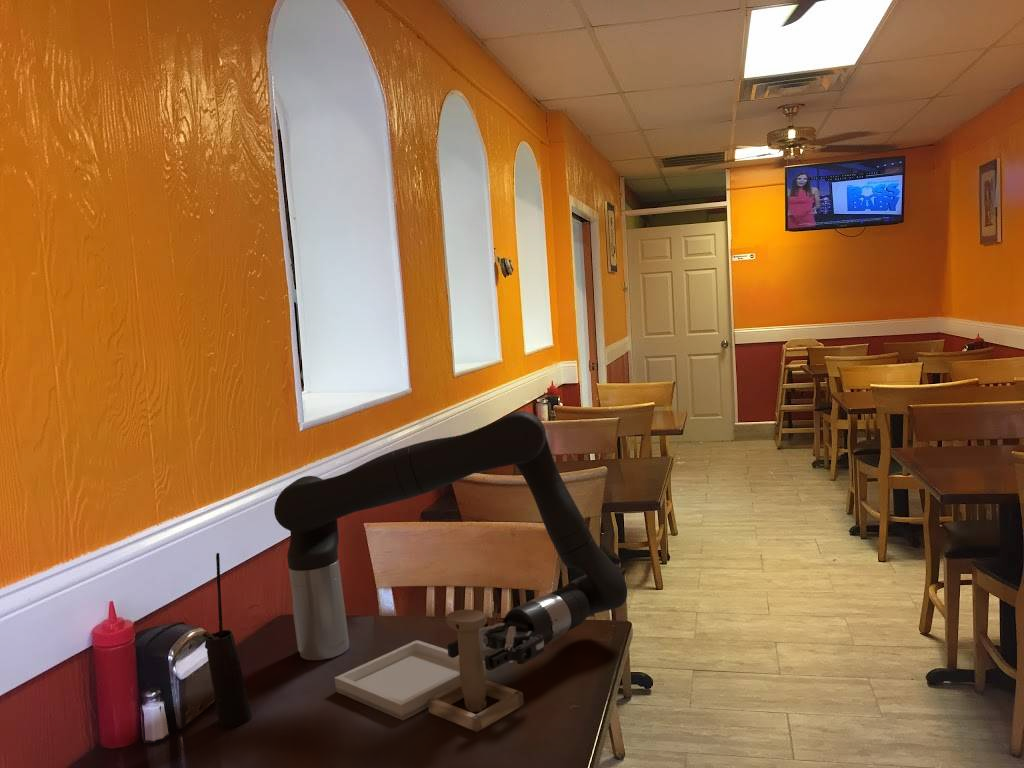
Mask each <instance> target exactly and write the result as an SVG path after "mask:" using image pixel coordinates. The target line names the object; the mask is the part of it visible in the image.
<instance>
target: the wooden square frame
mask: <svg viewBox="0 0 1024 768" xmlns="http://www.w3.org/2000/svg"><path fill="white" fill-rule="evenodd" d="M486 697H490V698H491V699H492V698H493V699H495V700H499V701H497V702H496V703H494V704H492V705H490V706H489V707H486V708H485V709H483V710H482V711H481V712H478V713H476V714H475V713H474V712H469V710H467V709H463V708H460V707H457V706H456V705H453V704H454V703H456V702H458V701H460V700H462V699H464V696H463V692H462V686H461V683H459V684H458V685H456V686H454V687H452V688H450V689H448V690H446V691H444V692H442V693H440V694H439V695H437V696H435V697H433V698H431V699H429V700H428V707H427V708H428V713H430V714H431V715H434V716H437V717H439V718H442V719H444V720H447V721H449V722H452V723H454V724H457V725H459V726H461V727H464V728H466V729H469V730H472V731H474V732H476V733H478V732H480V731H482V730H483V729H485V728H487V727H488V726H490V725H492V724H493V723H496V722H497V721H499V720H501V719H502V718H503V717H506V716H507V715H509V714H510V713H512V712H514V711H515V710H517V709H519V708H521V707H522V706H524V705H525V704H524V703H525V702H524V694H523V691H520V690H517V689H514V688H512V687H507V686H505V685H502V684H499V683H497V682H493V681H491V680H488V679H486Z"/></svg>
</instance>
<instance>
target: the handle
mask: <svg viewBox="0 0 1024 768" xmlns="http://www.w3.org/2000/svg"><path fill="white" fill-rule="evenodd" d="M487 618H488V617H487V613H485V612H484V611H481V610H477V609H476V610H475V609H457V610H453V611H451V612H449V613H448V614H447V615H446V616H445V621H446V625H447V626H448V627H449V628H451V629H452V630H454V631H456V635H457V640H458V650H459V670H460V681H461V686H462V692H463V696H464V698H463V700H464V706H465V710H467V711H468V712H471V713H474V712H475V713H476V712H478V713H480V712H482V711H483V710H485V709H487V699H486V697H487V695H486V680H487V675H486V676H485V668H484V662H485V661H484V656H483V651H481V644H480V638H479V629H480V628H482V627H483V626H484V625H485V624H486V623H487V620H488V619H487ZM483 661H484V662H483Z"/></svg>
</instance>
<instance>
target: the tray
mask: <svg viewBox="0 0 1024 768" xmlns="http://www.w3.org/2000/svg"><path fill="white" fill-rule="evenodd" d="M483 662H484V668H485V676H486V677H487V669H486V667H485V660H483ZM334 683H335V684H334V685H335V691H336V693H338V694H340V695H343V696H346V697H348V698H350V699H353V700H354V701H357V702H359V703H361V704H364V705H367V706H368V707H371V708H373V709H376V710H378V711H380V712H382V713H385V714H387V715H389V716H391V717H394V718H396V719H399V720H401V721H405V720H407V719H408V718H410V717H413V716H415V715H416V714H418V713H420V712H422V711H424V710H426V709H427V708H429V707H428V700H429V699H431V698H433V697H435V696H437V695H439V694H440V693H442V692H444V691H446V690H448V689H450V688H452V687H454V686H456V685H458V684H459V683H461V681H460V670H459V655H458V656H456V657H454V658H451V657H449V656H448V648H447V649H446V648H443V647H440V646H437V645H434V644H430V643H428V642H426V641H425V642H424V641H421V640H418V639H417V640H413V641H411V642H409V643H407V644H405V645H403V646H401V647H398V648H397V649H394V650H393V651H390V652H388V653H385V654H383V655H381V656H378V657H377V658H375V659H373V660H370V661H368V662H365V663H363V664H361V665H359V666H356V667H355V668H353V669H350V670H349V671H346V672H344V673H342V674H339V675H338V676H335V677H334Z"/></svg>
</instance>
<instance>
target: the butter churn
mask: <svg viewBox="0 0 1024 768" xmlns="http://www.w3.org/2000/svg"><path fill="white" fill-rule="evenodd" d="M215 561H216V581H217V582H216V585H217V607H218V631H217V632H212V633H210V632H209V631H204V632H203V634H202V637H204V638H205V643H206V645H205V647H206V655H207V661H208V665H209V672H210V678H211V683H212V689H213V695H214V696H213V699H214V701H215V707H216V713H217V718H218V723H219V724H220V726H221V727H223V728H225V729H227V728H228V729H229V728H236V727H239V726H241V725H243V724H245V723H247V722H248V721H250V720H251V719H252V716H253V714H252V709H251V706H250V702H249V697H248V694H247V689H246V686H245V685H246V683H245V680H244V677H243V676H244V675H243V672H242V667H241V662H240V660H239V655H238V649H237V645H236V641H235V636H234V634H233V631H231V630H230V629H224V627H223V612H222V611H223V609H222V593H221V590H222V589H221V565H220V563H221V561H220V552H217V553H216V554H215Z"/></svg>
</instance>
